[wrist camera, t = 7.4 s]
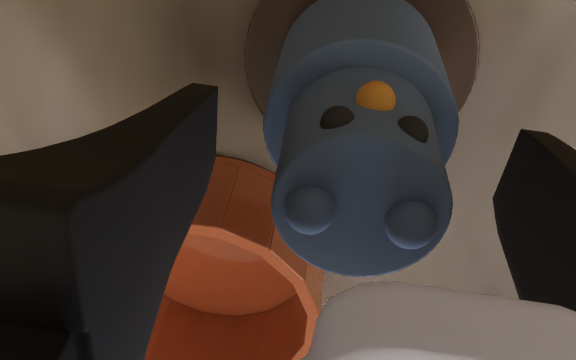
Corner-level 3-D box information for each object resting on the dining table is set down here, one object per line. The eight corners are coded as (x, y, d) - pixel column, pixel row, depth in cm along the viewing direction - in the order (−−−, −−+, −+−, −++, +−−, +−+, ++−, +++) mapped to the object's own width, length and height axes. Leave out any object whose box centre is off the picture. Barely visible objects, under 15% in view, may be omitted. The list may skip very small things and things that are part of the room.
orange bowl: (363, 213, 21) (365, 290, 17) (270, 337, 25) (257, 415, 22) (154, 117, 19) (113, 182, 16) (96, 267, 24) (55, 340, 21)
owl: (456, -1, 15) (532, 143, 9) (416, 142, 18) (451, 333, 12) (289, -24, 16) (242, 102, 9) (274, 122, 18) (230, 300, 12)
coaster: (528, 13, 16) (532, 19, 16) (394, 186, 20) (395, 194, 19) (310, -111, 15) (309, -108, 14) (214, 101, 19) (210, 107, 18)
